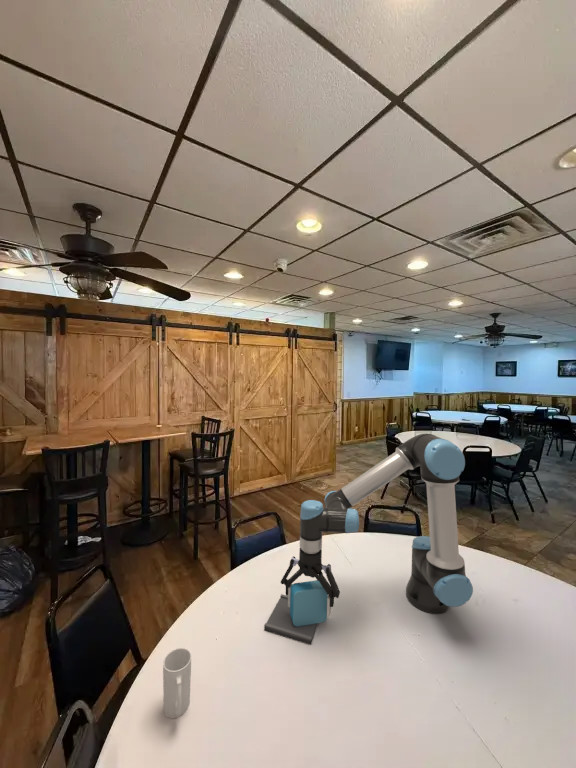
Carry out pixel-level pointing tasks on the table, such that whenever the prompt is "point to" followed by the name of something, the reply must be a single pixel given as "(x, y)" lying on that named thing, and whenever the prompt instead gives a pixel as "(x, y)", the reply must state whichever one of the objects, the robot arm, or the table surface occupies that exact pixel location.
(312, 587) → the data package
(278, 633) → the dark gray square slab
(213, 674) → the table surface
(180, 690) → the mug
